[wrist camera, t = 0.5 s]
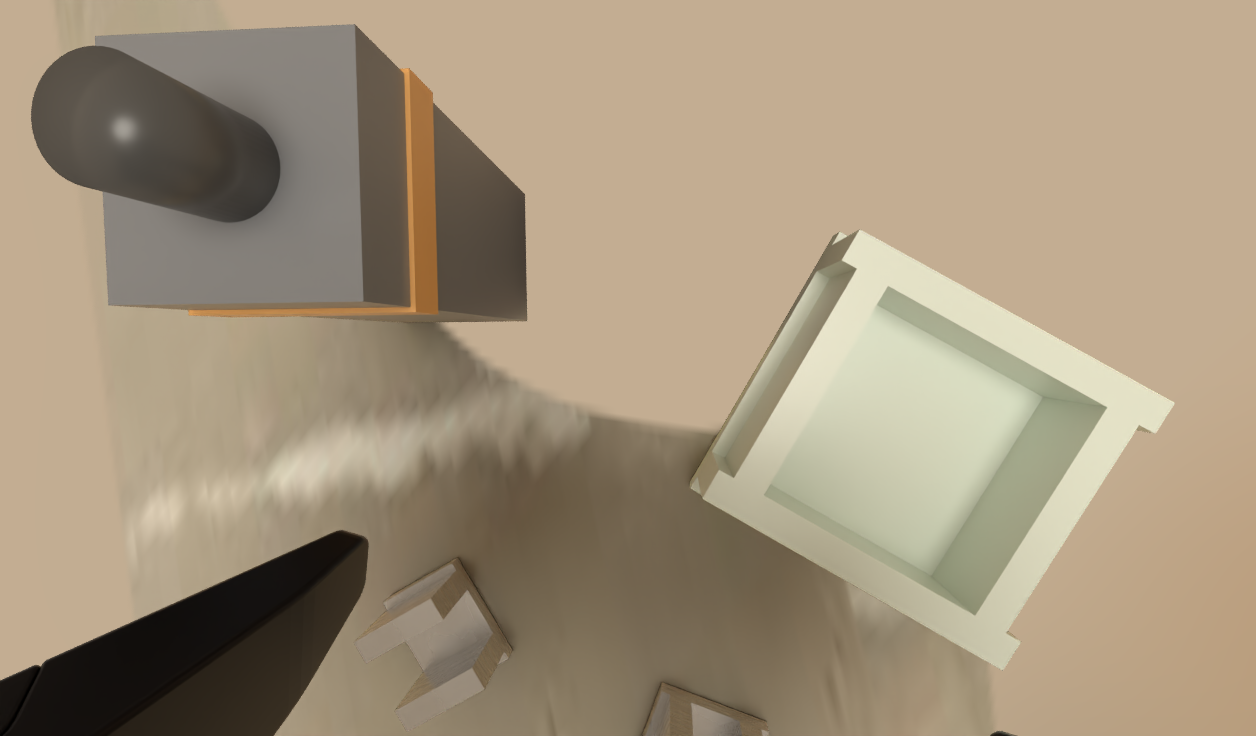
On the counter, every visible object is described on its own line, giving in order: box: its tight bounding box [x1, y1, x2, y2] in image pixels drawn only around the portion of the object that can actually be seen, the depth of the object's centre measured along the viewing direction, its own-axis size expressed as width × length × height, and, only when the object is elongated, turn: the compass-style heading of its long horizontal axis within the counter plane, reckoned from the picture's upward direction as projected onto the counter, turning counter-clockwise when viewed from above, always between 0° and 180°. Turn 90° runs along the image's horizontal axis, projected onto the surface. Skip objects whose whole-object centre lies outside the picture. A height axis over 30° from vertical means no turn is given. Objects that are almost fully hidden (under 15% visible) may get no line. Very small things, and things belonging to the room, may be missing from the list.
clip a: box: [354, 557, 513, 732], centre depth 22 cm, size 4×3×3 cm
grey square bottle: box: [31, 24, 527, 323], centre depth 15 cm, size 5×5×14 cm
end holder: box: [690, 230, 1175, 671], centre depth 20 cm, size 10×10×4 cm
